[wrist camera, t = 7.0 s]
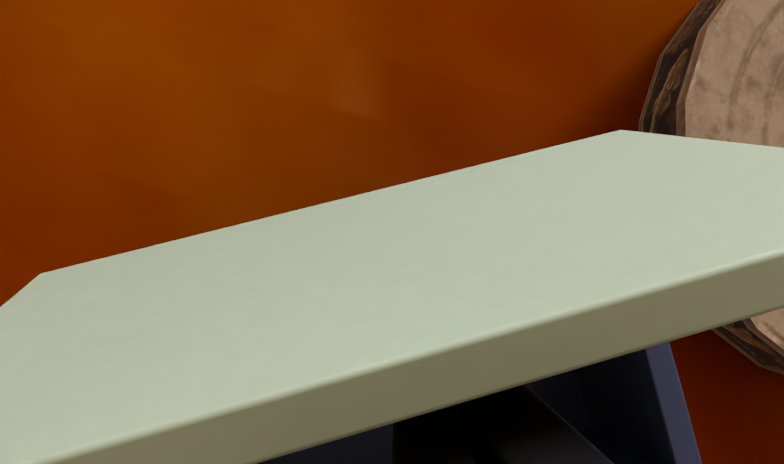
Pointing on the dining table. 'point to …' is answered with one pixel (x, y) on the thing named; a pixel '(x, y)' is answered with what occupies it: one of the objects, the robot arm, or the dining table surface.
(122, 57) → the dining table surface
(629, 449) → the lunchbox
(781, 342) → the tin can
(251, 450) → the lunchbox lid
